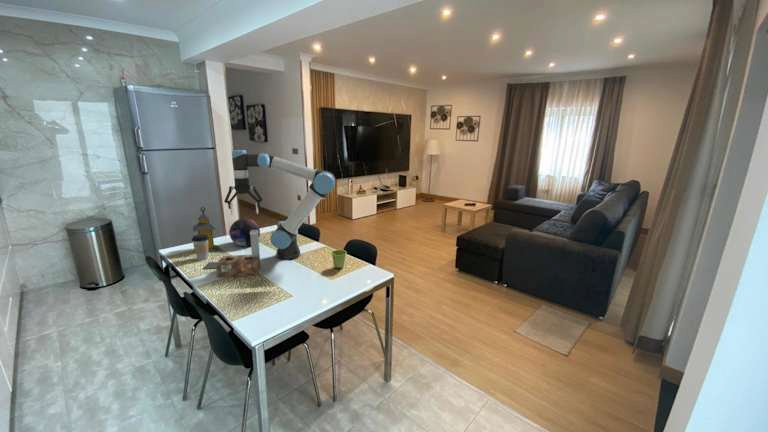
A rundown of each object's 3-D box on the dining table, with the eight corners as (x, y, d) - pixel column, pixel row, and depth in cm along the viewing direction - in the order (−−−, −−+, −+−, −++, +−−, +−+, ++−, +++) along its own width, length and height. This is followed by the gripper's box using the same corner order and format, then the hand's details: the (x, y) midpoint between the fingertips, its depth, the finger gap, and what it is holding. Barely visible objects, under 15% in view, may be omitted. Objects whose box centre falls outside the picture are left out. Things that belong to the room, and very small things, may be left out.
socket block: (260, 266, 181) (259, 254, 179) (256, 275, 169) (255, 261, 167) (224, 268, 177) (222, 255, 175) (217, 277, 165) (215, 263, 163)
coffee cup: (190, 260, 189) (187, 237, 186) (204, 255, 198) (201, 233, 194) (201, 262, 186) (198, 239, 182) (214, 257, 194) (212, 235, 191)
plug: (260, 256, 175) (258, 229, 172) (258, 258, 172) (256, 231, 168) (253, 256, 175) (251, 229, 171) (251, 259, 171) (249, 231, 168)
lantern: (195, 248, 210) (190, 206, 203) (218, 245, 217) (214, 204, 210) (195, 255, 198) (189, 210, 191) (219, 251, 205) (214, 208, 198)
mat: (226, 262, 187) (226, 261, 187) (221, 268, 177) (221, 267, 177) (208, 263, 185) (208, 262, 185) (202, 269, 176) (202, 268, 176)
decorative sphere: (236, 241, 227) (233, 215, 222) (264, 241, 229) (262, 215, 224) (226, 250, 208) (223, 221, 204) (256, 249, 210) (254, 221, 206)
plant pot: (350, 265, 185) (349, 252, 183) (337, 270, 178) (337, 256, 176) (340, 261, 191) (340, 248, 189) (328, 265, 184) (327, 252, 182)
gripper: (265, 176, 181) (268, 211, 186) (219, 177, 174) (223, 213, 179) (264, 177, 174) (267, 213, 179) (215, 178, 167) (220, 216, 172)
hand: (245, 213), depth 179 cm, fingers open, 13 cm apart
